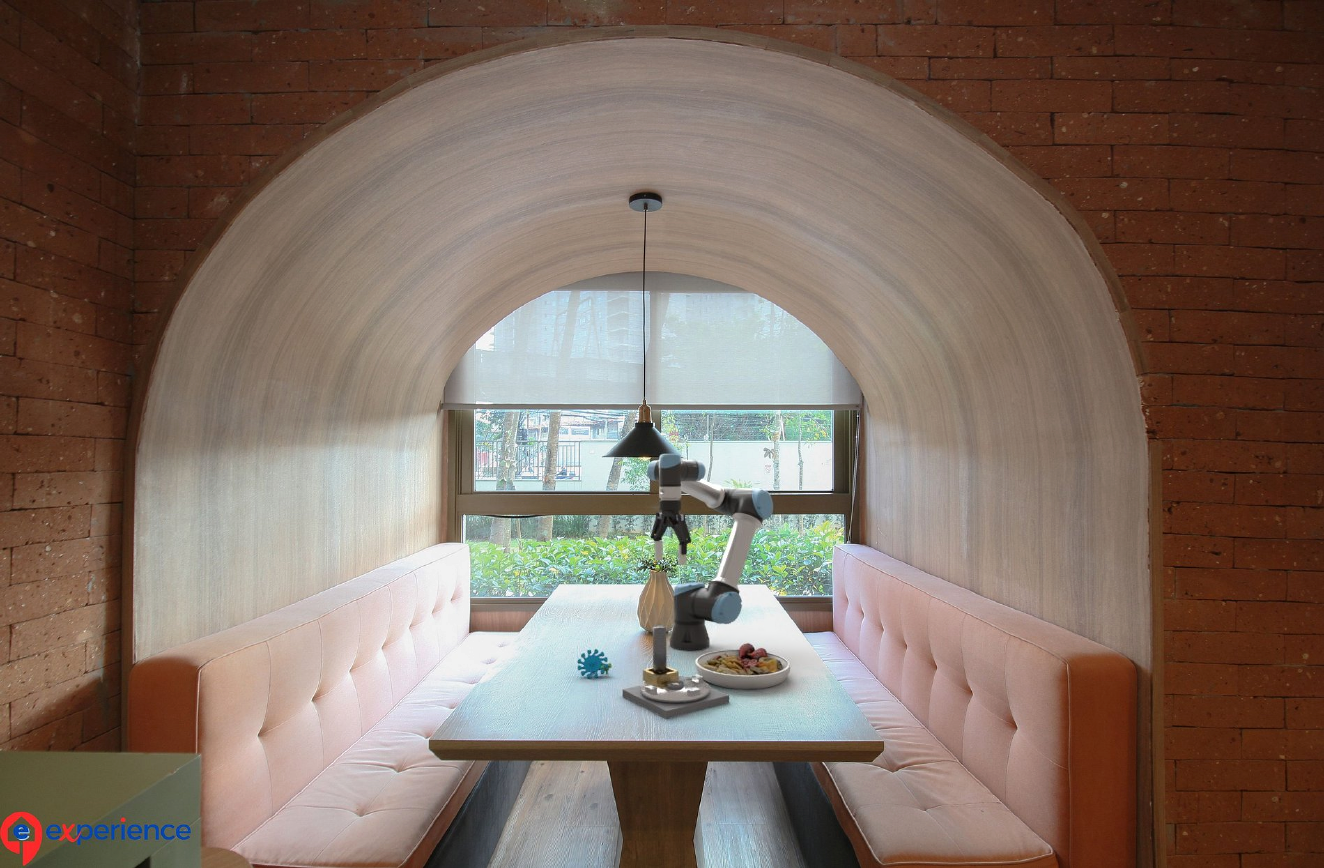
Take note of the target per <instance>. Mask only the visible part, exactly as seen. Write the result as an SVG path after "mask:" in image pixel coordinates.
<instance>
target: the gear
mask: <svg viewBox="0 0 1324 868" xmlns="http://www.w3.org/2000/svg"><path fill="white" fill-rule="evenodd" d="M586 652H587V657H586V654H585V652H584V653H581V654H580V657H581V658H582V659H583V660H584V661H582V659H581V658H579V659H578V660H577V664H578V665H577V671H580V675H581V676H583V677H584V676H585V675H586V678H587V679H592V675H593V674H594V675H593V678H594V679H597V678H598V679H599V674H598V671H600V674H601V676H602V675H604V674H609V671H610V669H612V663H611V662H609V663H608V656H605V653H604V651H601V652H599V650H598V649H597V648H595V649H594V651H593V653H592V649H587V650H586ZM604 662H605V663H604ZM581 665H583V666H581ZM581 670H582V671H581ZM587 673H588V674H587Z"/></svg>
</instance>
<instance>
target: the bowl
mask: <svg viewBox="0 0 1324 868" xmlns="http://www.w3.org/2000/svg"><path fill="white" fill-rule="evenodd" d="M694 662H695V670H696V672H697V674H698V675H700V676H703V677H704V682H706V683H707V682H708V683H710V684H712V685H715V686H717V687H721V688H726V689H733V690H759V689H767V688H771V687H775V686H777V685H779V684H781V683H782V682H784V681H785V680H786V679H788V676H789V674H790V672H791V663H790V661H789V659H786V657H783V656H781V655H778V654H776V653H772V652H771V653H770V652H767V650H766V649H765V648H763V647H760V648H757V649H755V647H754V645H753V644H751V643H749V642H747V643H743V644H742V645H741V646H739V649H721V650H715V651H714V650H713V651H710V652H706V653H703V654H701V655H699V656H697V658H696V659H695V661H694Z"/></svg>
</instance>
